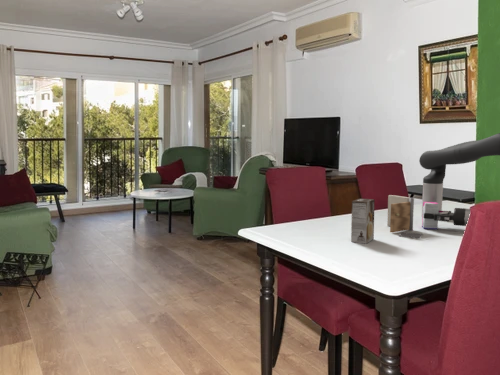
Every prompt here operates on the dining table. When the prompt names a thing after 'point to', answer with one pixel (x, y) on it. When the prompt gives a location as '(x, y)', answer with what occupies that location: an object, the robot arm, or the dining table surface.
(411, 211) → the cream upright panel
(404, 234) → the pad
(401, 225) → the door
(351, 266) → the dining table surface
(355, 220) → the coffee box
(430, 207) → the supplement box
